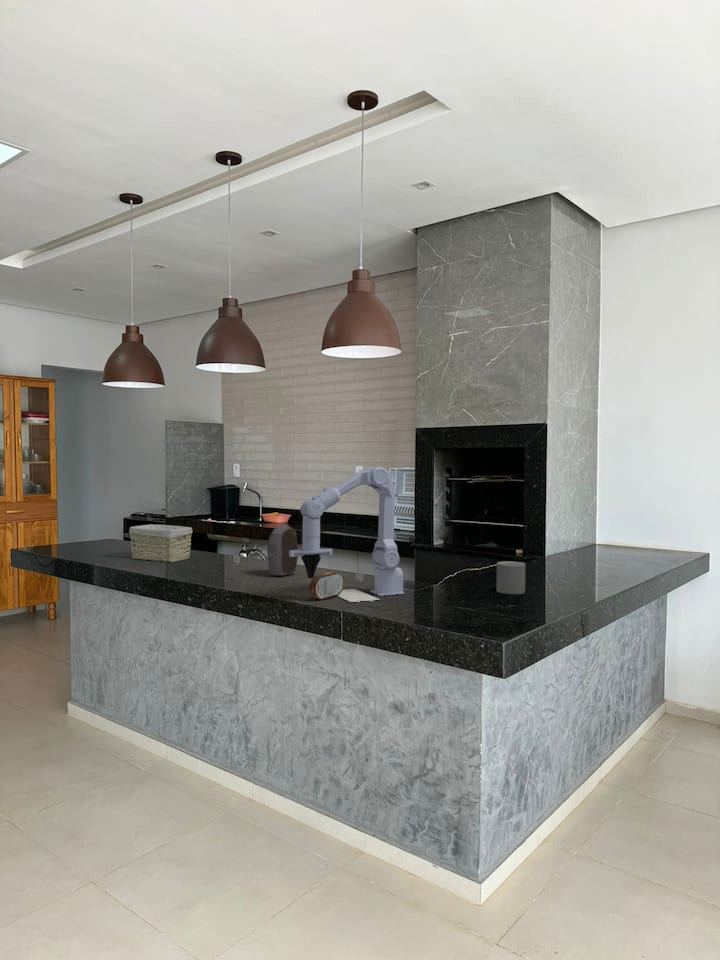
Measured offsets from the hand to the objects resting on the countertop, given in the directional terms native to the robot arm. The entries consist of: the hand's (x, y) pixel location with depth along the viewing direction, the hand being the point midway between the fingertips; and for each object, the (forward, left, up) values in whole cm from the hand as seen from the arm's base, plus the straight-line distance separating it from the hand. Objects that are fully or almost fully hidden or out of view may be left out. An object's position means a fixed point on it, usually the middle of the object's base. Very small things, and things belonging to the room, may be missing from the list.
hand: (310, 577), depth 232 cm
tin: (-6, 0, -7) cm, 9 cm away
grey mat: (-15, 0, -7) cm, 17 cm away
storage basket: (+30, -108, -8) cm, 113 cm away
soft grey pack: (-7, -49, -7) cm, 50 cm away
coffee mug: (-73, +12, -7) cm, 74 cm away
